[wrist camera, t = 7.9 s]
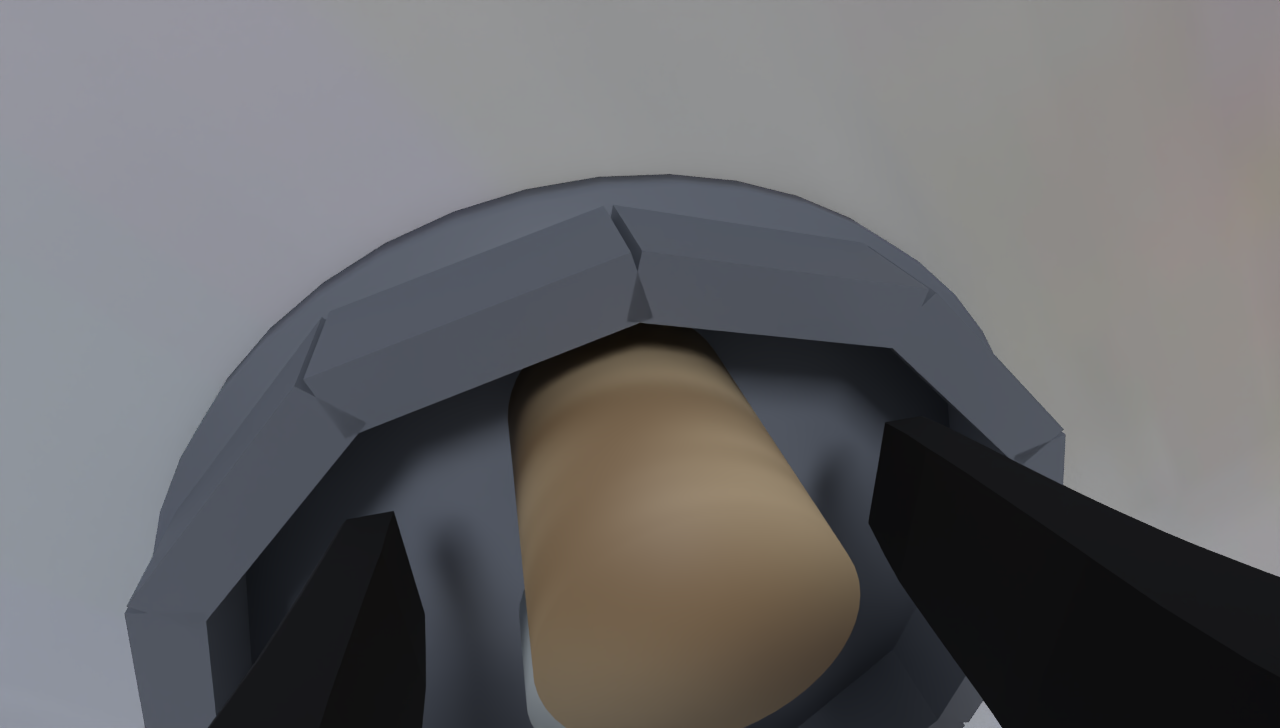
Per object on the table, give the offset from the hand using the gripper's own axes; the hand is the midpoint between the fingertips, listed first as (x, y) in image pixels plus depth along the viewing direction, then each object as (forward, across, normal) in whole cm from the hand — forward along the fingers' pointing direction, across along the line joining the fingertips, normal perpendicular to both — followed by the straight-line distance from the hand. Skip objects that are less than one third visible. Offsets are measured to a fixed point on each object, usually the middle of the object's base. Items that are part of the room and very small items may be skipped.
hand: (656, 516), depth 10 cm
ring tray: (+3, 0, +5) cm, 6 cm away
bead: (+3, 0, 0) cm, 3 cm away
